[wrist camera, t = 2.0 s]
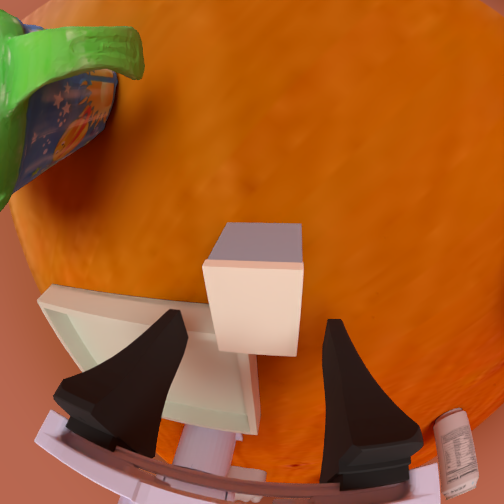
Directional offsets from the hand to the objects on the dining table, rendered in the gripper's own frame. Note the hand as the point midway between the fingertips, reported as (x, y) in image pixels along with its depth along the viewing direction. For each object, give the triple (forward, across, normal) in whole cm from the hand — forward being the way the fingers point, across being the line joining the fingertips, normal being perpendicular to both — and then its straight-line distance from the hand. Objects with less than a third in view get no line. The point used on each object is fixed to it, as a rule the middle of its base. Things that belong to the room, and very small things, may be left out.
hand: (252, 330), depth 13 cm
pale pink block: (+6, 0, 0) cm, 6 cm away
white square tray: (+6, +12, +13) cm, 19 cm away
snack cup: (+6, +12, -13) cm, 19 cm away
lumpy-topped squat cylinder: (+6, +6, +63) cm, 64 cm away
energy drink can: (+6, -29, +28) cm, 41 cm away
